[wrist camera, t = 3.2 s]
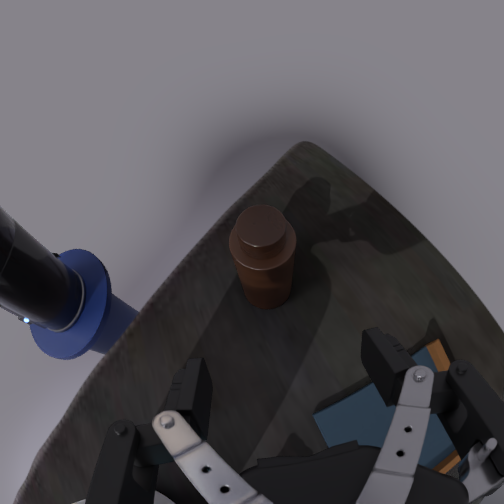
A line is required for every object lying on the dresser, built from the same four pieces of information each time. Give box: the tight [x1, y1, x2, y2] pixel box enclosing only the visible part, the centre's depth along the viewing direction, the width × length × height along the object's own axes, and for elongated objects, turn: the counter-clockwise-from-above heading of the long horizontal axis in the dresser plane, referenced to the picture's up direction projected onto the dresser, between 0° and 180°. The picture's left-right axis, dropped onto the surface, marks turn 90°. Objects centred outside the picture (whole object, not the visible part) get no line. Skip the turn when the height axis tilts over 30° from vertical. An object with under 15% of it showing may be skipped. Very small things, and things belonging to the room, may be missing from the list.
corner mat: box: [312, 339, 461, 474], centre depth 19 cm, size 15×15×2 cm
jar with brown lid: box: [229, 205, 296, 309], centre depth 25 cm, size 5×5×12 cm
